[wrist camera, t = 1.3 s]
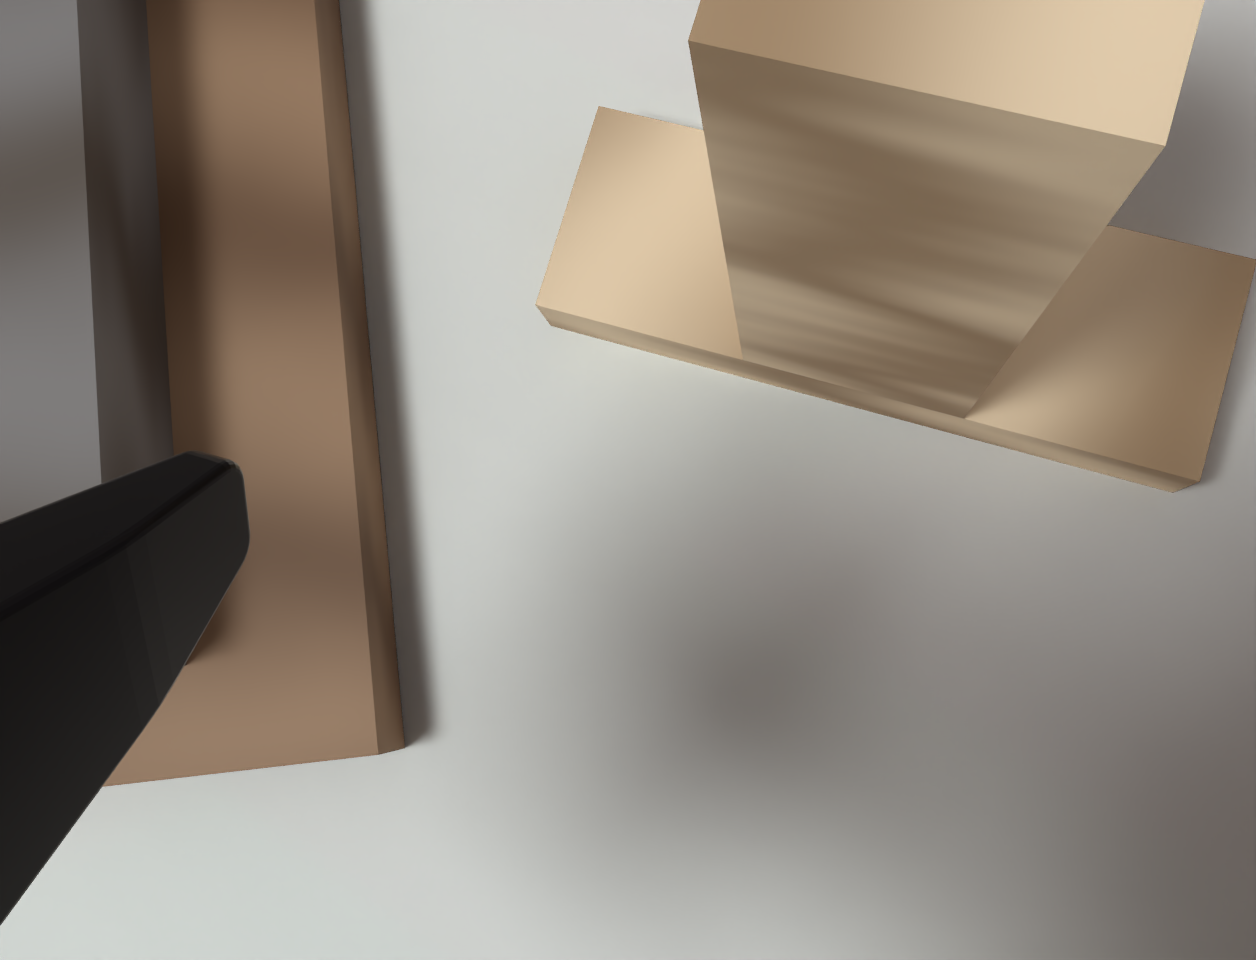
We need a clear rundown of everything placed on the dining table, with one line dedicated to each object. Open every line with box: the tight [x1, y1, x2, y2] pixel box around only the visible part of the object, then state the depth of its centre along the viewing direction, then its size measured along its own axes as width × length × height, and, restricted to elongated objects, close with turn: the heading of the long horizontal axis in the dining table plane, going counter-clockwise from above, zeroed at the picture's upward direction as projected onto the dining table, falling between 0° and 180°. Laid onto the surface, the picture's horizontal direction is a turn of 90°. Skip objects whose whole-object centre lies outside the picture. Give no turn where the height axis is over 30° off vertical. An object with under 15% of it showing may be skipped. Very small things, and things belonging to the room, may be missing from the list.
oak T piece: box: [535, 0, 1256, 493], centre depth 16 cm, size 12×4×13 cm, turn 73°
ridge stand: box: [0, 0, 405, 787], centre depth 23 cm, size 20×10×4 cm, turn 7°
